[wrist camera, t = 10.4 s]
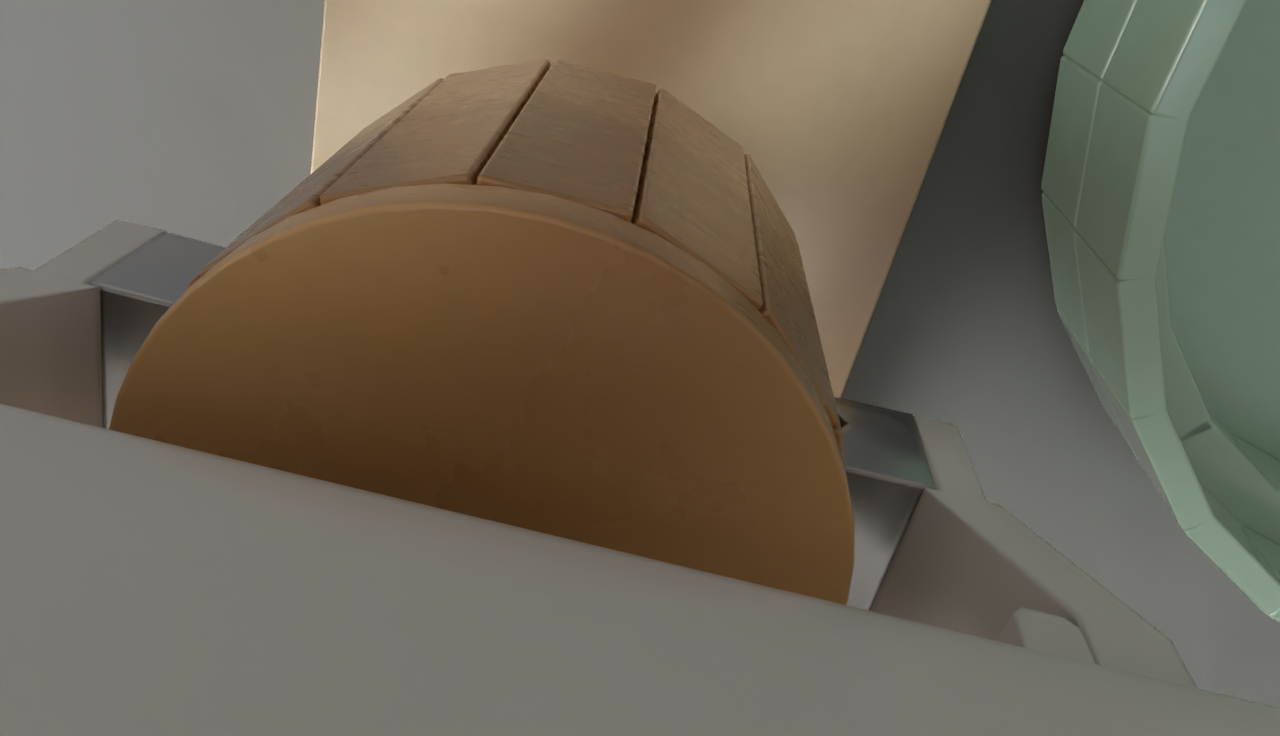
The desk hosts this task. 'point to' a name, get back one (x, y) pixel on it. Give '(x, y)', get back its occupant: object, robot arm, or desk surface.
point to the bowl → (1178, 256)
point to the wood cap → (528, 331)
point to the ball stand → (712, 100)
